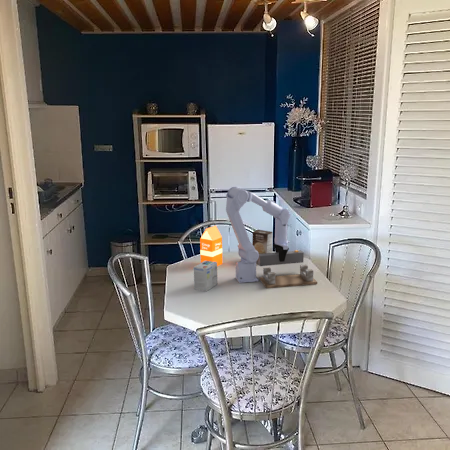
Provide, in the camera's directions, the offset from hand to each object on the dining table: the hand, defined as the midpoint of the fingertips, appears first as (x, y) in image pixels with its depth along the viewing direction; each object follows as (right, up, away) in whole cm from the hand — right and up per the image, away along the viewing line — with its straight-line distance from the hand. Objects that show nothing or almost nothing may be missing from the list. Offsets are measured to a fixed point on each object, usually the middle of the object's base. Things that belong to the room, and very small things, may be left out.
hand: (280, 260), depth 228 cm
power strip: (0, -2, 0) cm, 2 cm away
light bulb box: (-35, -11, -14) cm, 40 cm away
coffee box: (-7, -2, +22) cm, 23 cm away
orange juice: (-34, -4, +17) cm, 38 cm away
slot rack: (+2, -9, -9) cm, 13 cm away
